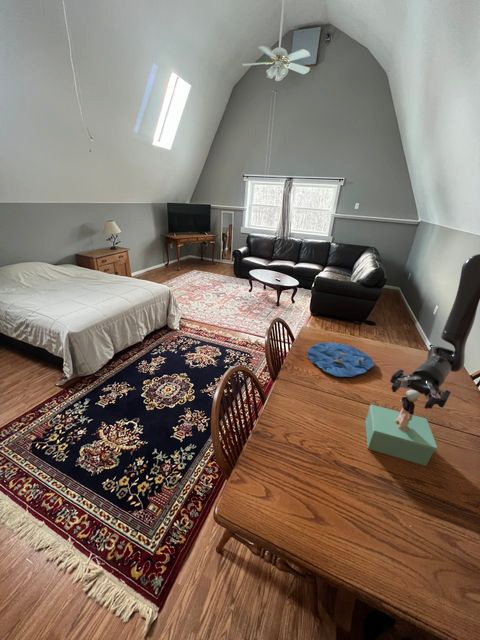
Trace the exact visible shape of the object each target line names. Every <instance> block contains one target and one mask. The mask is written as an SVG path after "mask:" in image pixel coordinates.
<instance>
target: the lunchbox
mask: <svg viewBox="0 0 480 640" xmlns="http://www.w3.org/2000/svg"><path fill="white" fill-rule="evenodd" d="M364 424H365V435H366V445H367V450H370V451H374V452H377V453H381V454H385V455H388V456H390V457H393V458H398V459H401V460H404V461H408V462H410V463H414V464H417V465H421V466H425V467H427V465H428V464H429V462H430V459H431V457H432V456H433V454H434V452H435V450H434V449H431V448H427V447H424V446H420V445H417V444H413V443H409V442H406V441H402V440H399V439H395V438H392V437H388V436H384V435H381V434H377V433H374V432H373V424H372V416H371V408H370V407H369V409H368V412H367V415H366V418H365V421H364Z"/></svg>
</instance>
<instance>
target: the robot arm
mask: <svg viewBox="0 0 480 640" xmlns="http://www.w3.org/2000/svg"><path fill="white" fill-rule="evenodd" d="M479 305H480V253H479V254H474V255H472V256H470V257H468V258H467V259H466V260H465V261H464V263H463V264H462V267H461V270H460V277H459V283H458V287H457V292H456V295H455V298H454V302H453V304H452V307H451V309H450V312H449V314H448V317H447V320H446V322H445V324H444V328H443V330H442V332H441V335H440V338H441V340H443V341H444V342H446V343H448V344H450V345H451V346H452V347H453V348H454V349H449V348H446V347H443V346H440V345H435V346H431V348H430V349H428V352H427V355H426V360H425V362H423V363H421V364H420V365H419V366H418V367H417V368H416V369H414V371H413V372H412V373H411V374H406V373H405V370H403V369H402V368H401V369H398V370H397V371H396V372H394V373H393V374H392V375H391V378H390V380H389V383H390V384H392V386H391V388H390V389H391V392H393V393H396V392H397V391H398V390H400V389H401V388H404V389H405V390H407V389H408V390H415V391H417V392H418V393H419V394H420V395H421V394H422V395H423V396H424V397H425V399H426V402H425V405H424V409H426V410H428V409H429V410H431V409H433V407H434V406H435V405H437V406H438V407H439V408H444V407H445V405H446V403H447V401H448V399H449V397H450V395H451V391H450V390H447V389H445V391H444V390H442V389H440V387H441V386H442V385H443V384H444V383H445V381H446V379H447V377H448V376H449V374H450V373H451V372H452V373H457V372H460V371H461V370H462V369H463V368H464V366H465V357H466V355H465V353H466V345H467V341H468V338H469V336H470V334H471V331H472V328H473V326H474V323H475V320H476V316H477V311H478V307H479Z"/></svg>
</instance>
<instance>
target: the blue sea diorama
mask: <svg viewBox="0 0 480 640" xmlns="http://www.w3.org/2000/svg"><path fill="white" fill-rule="evenodd" d="M307 350H308V351H307V352H306V353H307V357H308V358H309V361H310V362H311V363H313V364H314V365H316V366H317V367H318V368H319V369H321V370H322V371H323V372H325V373H328V374H330V375H333V376H334V377H339V378H344V377H349V378H351V377H357V375H361V374H364V373H366V372H368V370H370V369H371V368H372V367H374V366H375V363H374V360H373V358H372V357H371V356H370V355H368V354H367V353H366V352H364V351H362V350H360V349H358V348H356V347H354V346H351V345H348V344H346V343H338V342H336V343H335V342H327V341H326V342H317V343H316V344H313V345H311V346H310V347H309V348H307Z"/></svg>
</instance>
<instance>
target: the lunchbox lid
mask: <svg viewBox="0 0 480 640" xmlns="http://www.w3.org/2000/svg"><path fill="white" fill-rule="evenodd" d="M370 408H371V416H372V424H373V432H374V433H377V434H381V435H384V436H388V437H392V438H395V439H399V440H402V441H406V442H409V443H413V444H417V445H420V446H424V447H427V448H431V449H434V451H437V450H438V445H437V442H436V440H435V437H434V435H433V432H432V429H431V427H430V426H431V425H430V424H429V420H428V418H427V417H422V416H418V415H415V414H413V417H412V420H409V424H408V425H406V426H407V427H408V431H403V430H401V429H399V428H398V425H400V424H397V423H396V422H395V420H396V419H398V417H399V414H400V412H401V411H398V410H394V409H391V408H387V407H383V406H378V405H375V404H370V405H369V409H370Z"/></svg>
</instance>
